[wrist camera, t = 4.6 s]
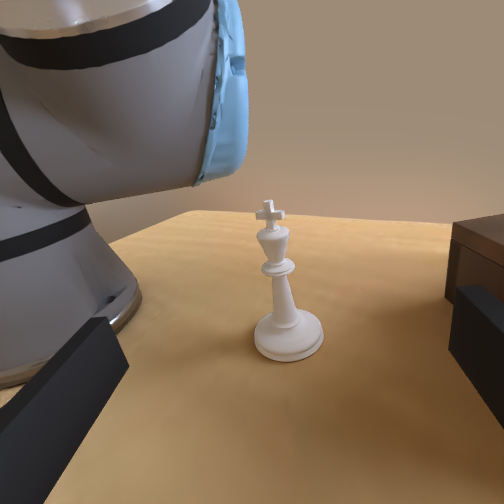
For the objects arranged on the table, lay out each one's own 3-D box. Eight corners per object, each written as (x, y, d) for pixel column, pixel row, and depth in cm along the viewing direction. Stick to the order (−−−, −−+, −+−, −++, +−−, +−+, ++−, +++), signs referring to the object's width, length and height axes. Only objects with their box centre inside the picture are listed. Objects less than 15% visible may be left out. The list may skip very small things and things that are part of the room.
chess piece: (271, 310, 24) (251, 191, 20) (331, 321, 22) (321, 187, 18) (242, 352, 20) (209, 215, 16) (310, 370, 18) (291, 214, 14)
